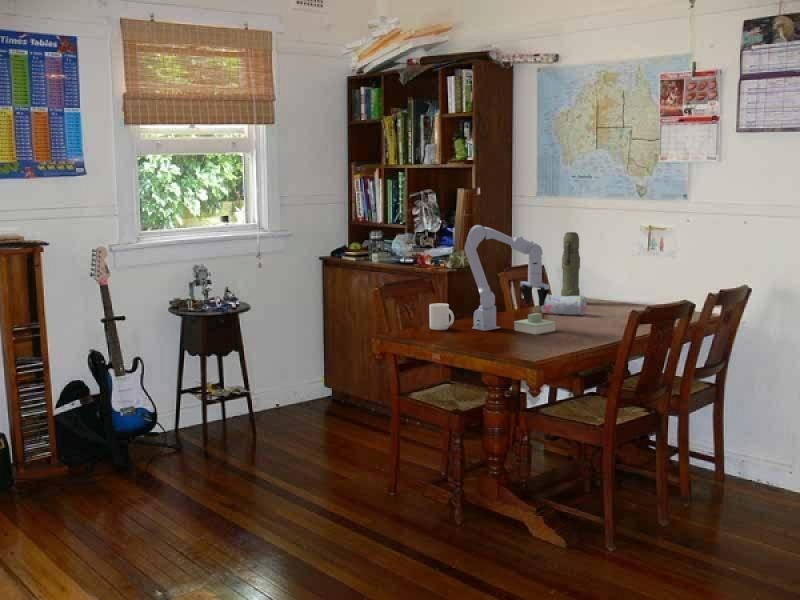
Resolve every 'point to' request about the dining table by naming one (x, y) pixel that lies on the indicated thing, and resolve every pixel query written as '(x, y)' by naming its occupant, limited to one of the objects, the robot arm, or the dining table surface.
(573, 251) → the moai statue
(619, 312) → the dining table surface
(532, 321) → the lid
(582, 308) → the pencil case
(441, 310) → the mug
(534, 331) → the box
